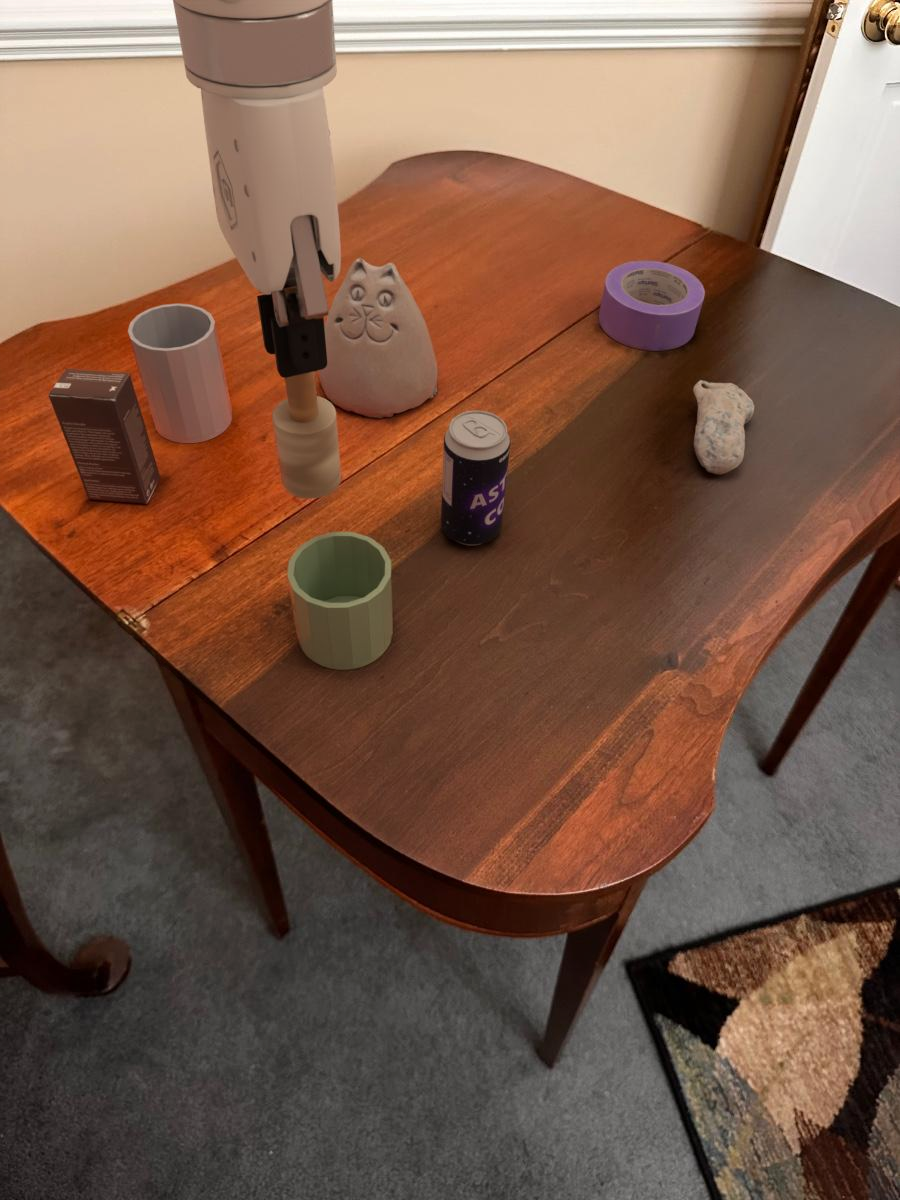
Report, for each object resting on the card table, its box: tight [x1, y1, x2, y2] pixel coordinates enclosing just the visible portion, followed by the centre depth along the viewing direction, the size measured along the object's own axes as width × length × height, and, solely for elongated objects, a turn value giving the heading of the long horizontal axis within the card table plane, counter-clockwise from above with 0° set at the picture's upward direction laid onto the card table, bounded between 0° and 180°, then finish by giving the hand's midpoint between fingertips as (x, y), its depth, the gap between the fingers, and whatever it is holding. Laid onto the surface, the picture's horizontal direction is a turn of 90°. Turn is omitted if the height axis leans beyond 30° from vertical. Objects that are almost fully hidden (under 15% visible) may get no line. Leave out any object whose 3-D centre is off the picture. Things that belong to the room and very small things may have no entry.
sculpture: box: [317, 257, 439, 419], centre depth 90 cm, size 13×12×15 cm
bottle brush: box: [271, 286, 342, 500], centre depth 59 cm, size 4×4×16 cm
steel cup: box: [127, 303, 233, 444], centre depth 87 cm, size 8×8×11 cm
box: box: [47, 368, 161, 505], centre depth 80 cm, size 6×4×12 cm
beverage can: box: [440, 410, 511, 546], centre depth 77 cm, size 6×6×12 cm
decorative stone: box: [692, 379, 755, 475], centre depth 90 cm, size 13×7×5 cm, turn 171°
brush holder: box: [286, 531, 394, 671], centre depth 71 cm, size 8×8×8 cm
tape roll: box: [598, 260, 706, 352], centre depth 104 cm, size 12×12×5 cm
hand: (296, 357), depth 57 cm, fingers closed on bottle brush, 2 cm apart
